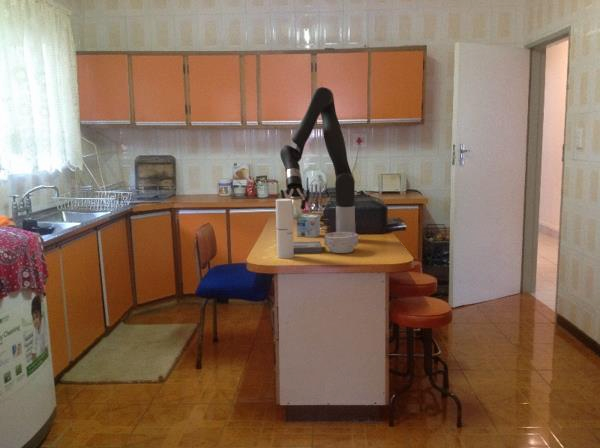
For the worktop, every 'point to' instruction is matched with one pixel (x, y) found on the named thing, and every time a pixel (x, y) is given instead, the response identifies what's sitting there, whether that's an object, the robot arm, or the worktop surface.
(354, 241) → the paper bowls
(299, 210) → the tea tin
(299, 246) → the display shelf
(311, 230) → the light bulb box
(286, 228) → the cylindrical container
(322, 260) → the worktop surface
